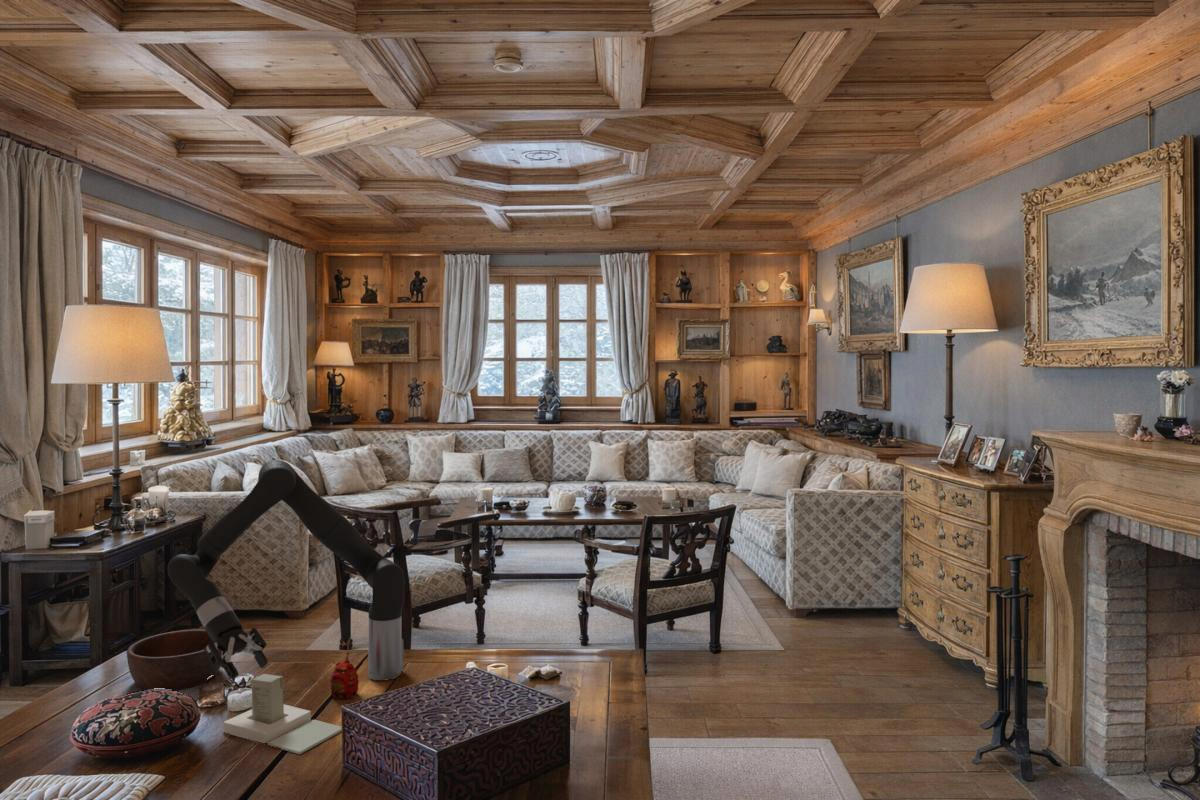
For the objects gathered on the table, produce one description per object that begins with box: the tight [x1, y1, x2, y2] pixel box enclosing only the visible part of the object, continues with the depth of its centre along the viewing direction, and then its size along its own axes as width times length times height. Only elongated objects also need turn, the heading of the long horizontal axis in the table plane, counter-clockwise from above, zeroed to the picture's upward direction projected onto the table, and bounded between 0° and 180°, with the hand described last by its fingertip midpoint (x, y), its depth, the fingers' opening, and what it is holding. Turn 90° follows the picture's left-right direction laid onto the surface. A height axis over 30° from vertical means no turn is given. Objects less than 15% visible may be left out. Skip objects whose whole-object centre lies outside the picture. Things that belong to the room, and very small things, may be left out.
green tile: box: [267, 719, 342, 755], centre depth 184 cm, size 14×10×1 cm
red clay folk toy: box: [329, 637, 360, 700], centre depth 209 cm, size 8×7×15 cm
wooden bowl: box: [126, 628, 222, 691], centre depth 219 cm, size 25×25×10 cm
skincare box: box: [251, 673, 285, 724], centre depth 189 cm, size 6×4×12 cm
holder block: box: [222, 703, 312, 743], centre depth 189 cm, size 14×14×2 cm
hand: (250, 671), depth 192 cm, fingers open, 8 cm apart
